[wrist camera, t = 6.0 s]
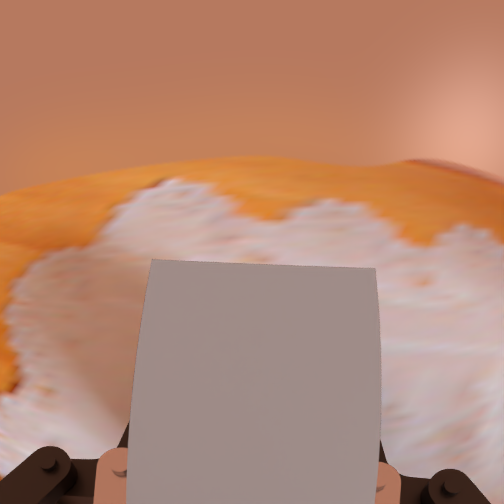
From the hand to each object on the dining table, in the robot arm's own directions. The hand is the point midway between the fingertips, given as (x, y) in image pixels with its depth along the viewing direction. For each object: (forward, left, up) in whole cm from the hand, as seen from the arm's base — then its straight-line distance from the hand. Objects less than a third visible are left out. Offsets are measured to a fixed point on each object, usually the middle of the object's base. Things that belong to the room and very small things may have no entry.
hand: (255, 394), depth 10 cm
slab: (+1, +1, -5) cm, 5 cm away
